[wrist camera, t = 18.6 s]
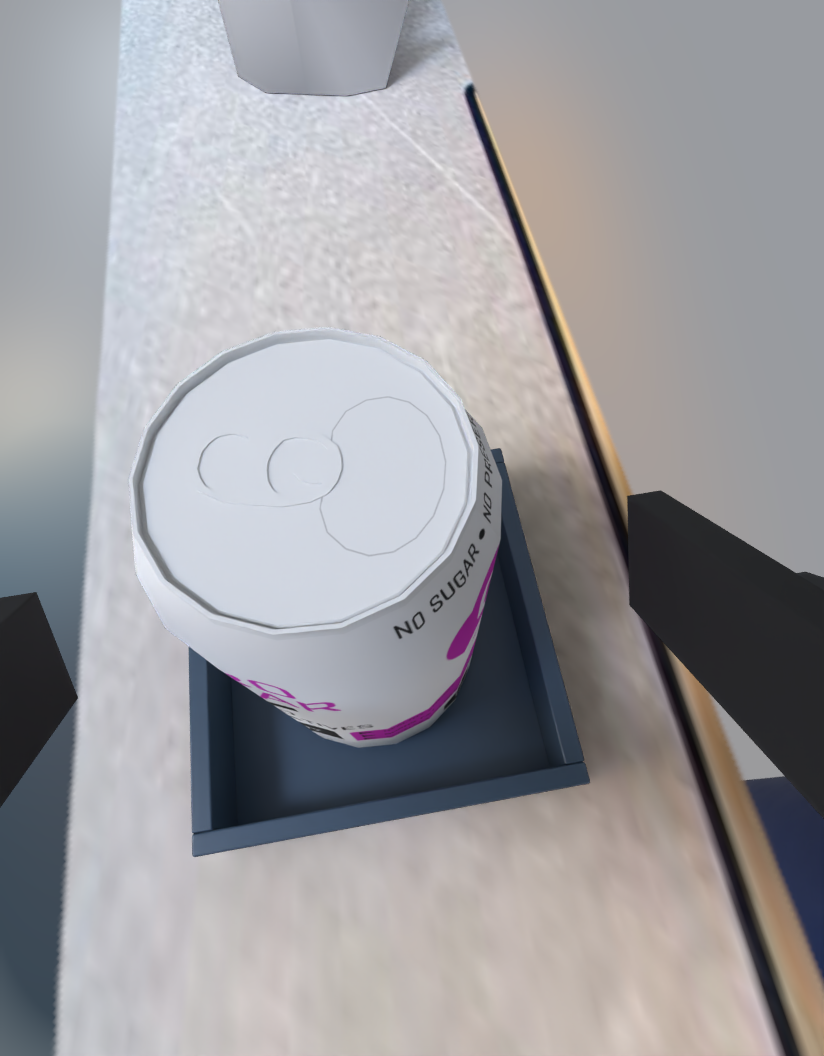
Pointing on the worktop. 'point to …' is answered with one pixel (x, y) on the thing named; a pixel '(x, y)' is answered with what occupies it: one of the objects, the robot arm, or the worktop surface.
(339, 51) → the toilet tissue
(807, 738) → the robot arm
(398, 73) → the worktop surface
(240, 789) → the blue open tray
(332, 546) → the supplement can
